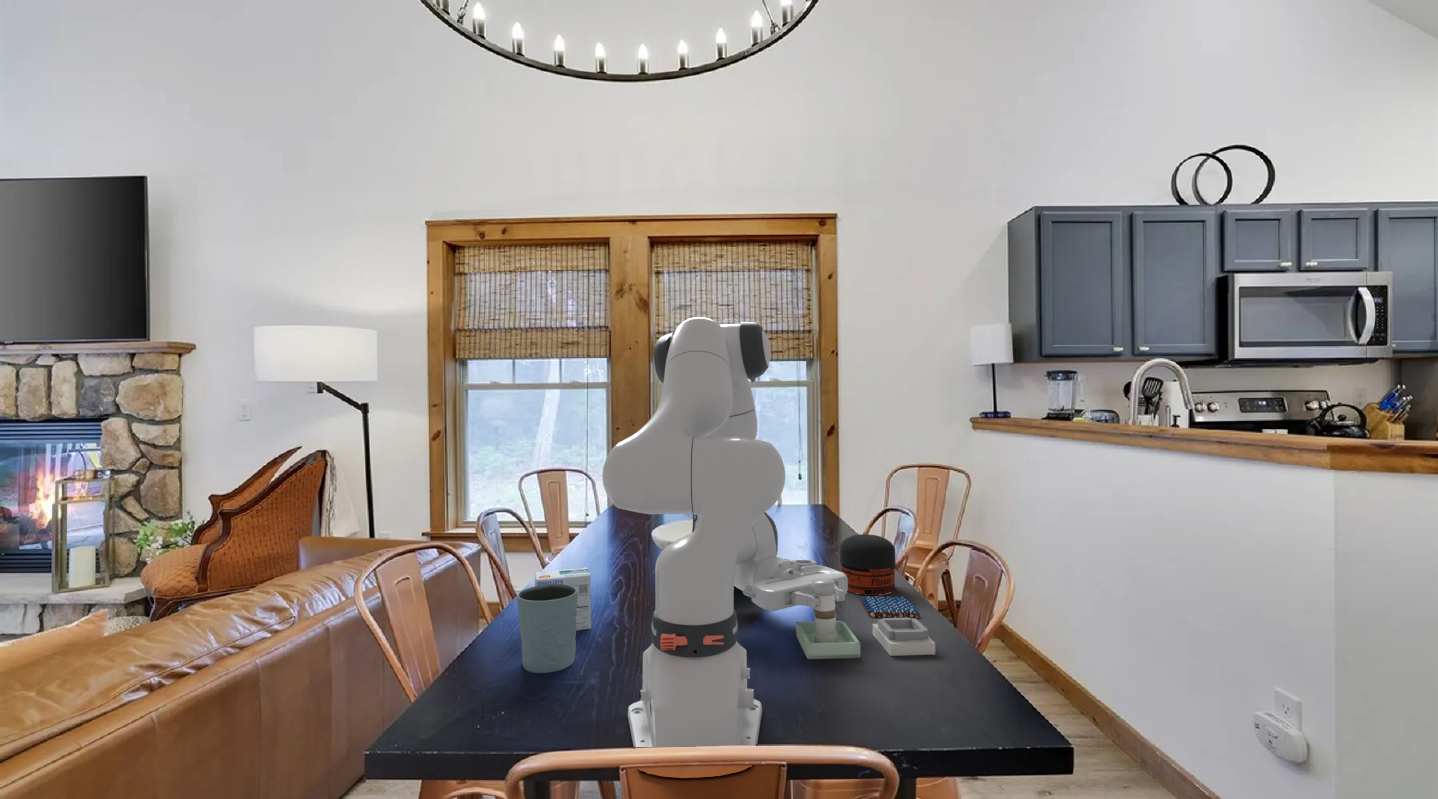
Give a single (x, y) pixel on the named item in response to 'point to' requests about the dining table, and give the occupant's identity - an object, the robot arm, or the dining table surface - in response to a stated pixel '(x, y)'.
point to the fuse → (825, 611)
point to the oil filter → (868, 564)
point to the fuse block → (903, 637)
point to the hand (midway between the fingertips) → (829, 599)
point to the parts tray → (842, 649)
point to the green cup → (548, 627)
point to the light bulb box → (578, 580)
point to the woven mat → (889, 606)
